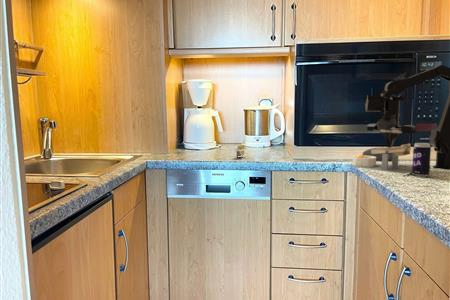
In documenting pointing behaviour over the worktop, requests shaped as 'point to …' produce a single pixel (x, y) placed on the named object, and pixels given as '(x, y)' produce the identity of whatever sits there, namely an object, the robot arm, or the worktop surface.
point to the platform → (240, 150)
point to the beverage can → (421, 159)
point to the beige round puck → (364, 161)
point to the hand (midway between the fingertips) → (389, 148)
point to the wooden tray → (394, 150)
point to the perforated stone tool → (378, 156)
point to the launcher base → (386, 167)
